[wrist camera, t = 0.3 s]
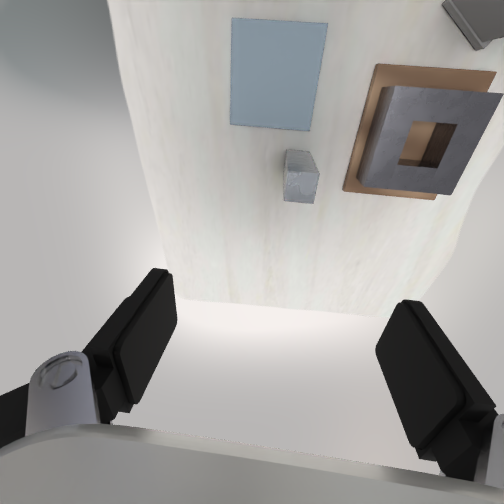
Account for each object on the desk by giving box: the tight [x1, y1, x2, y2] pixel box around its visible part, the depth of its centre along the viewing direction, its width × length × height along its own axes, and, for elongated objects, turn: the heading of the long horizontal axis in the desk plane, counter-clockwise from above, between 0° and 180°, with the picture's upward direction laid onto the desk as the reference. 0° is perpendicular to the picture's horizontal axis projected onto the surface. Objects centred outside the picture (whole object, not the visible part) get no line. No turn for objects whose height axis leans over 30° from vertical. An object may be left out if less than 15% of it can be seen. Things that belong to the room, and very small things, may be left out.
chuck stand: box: [343, 64, 497, 200], centre depth 30 cm, size 14×12×1 cm
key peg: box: [284, 150, 320, 204], centre depth 29 cm, size 3×3×11 cm
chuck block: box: [356, 86, 503, 195], centre depth 28 cm, size 10×10×4 cm
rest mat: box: [230, 18, 328, 131], centre depth 29 cm, size 10×10×1 cm
